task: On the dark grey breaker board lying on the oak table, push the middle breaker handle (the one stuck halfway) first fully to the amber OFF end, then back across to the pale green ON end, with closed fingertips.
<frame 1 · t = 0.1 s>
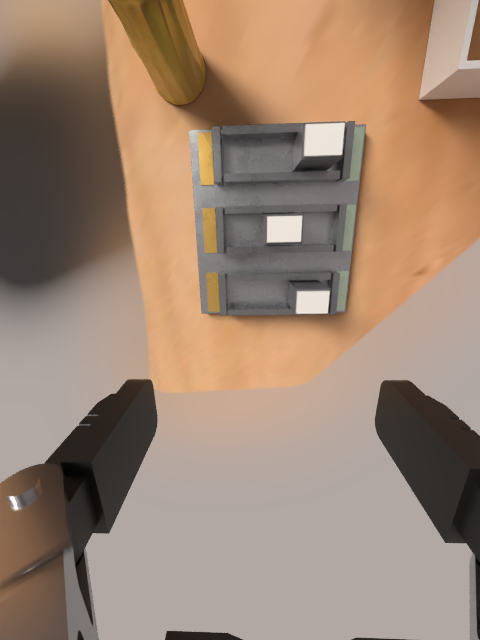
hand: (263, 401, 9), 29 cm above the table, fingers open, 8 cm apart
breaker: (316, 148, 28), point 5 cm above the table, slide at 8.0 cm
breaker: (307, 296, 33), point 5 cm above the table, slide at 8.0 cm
vase: (179, 74, 30), on the table
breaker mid: (281, 229, 31), point 5 cm above the table, slide at 4.5 cm
panel: (273, 229, 35), on the table
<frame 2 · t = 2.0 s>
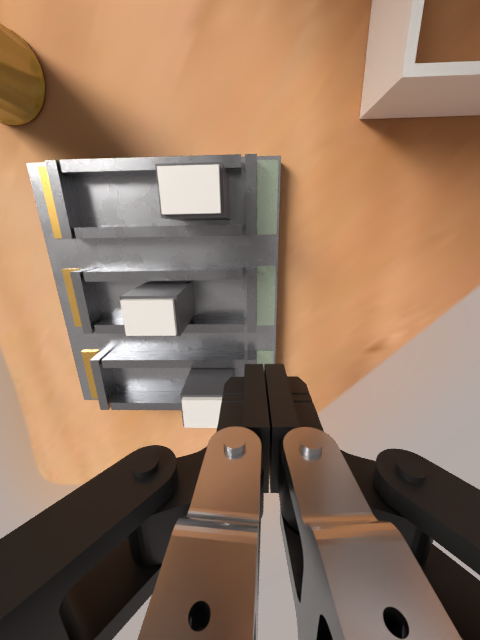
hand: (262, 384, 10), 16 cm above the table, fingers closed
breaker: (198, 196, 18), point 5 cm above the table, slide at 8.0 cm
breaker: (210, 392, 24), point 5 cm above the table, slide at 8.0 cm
vase: (9, 80, 21), on the table
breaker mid: (161, 306, 21), point 5 cm above the table, slide at 4.5 cm
panel: (171, 293, 26), on the table
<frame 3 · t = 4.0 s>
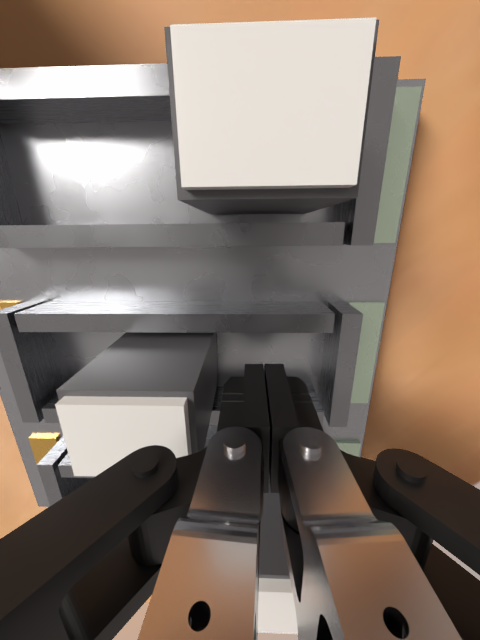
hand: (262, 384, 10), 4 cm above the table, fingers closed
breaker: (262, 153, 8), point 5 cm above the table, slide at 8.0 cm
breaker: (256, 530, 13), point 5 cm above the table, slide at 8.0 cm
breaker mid: (158, 386, 11), point 5 cm above the table, slide at 4.0 cm, touching gripper
panel: (184, 341, 15), on the table
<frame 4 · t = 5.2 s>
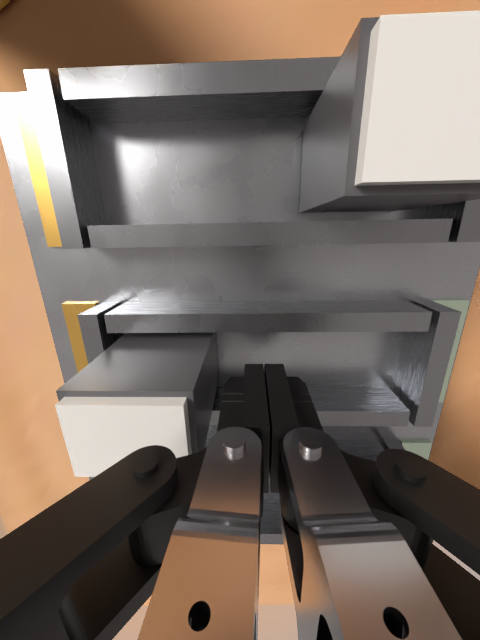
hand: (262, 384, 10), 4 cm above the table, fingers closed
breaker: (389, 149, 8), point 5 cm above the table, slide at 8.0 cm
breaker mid: (158, 387, 11), point 5 cm above the table, slide at 0.3 cm, touching gripper
panel: (251, 341, 15), on the table
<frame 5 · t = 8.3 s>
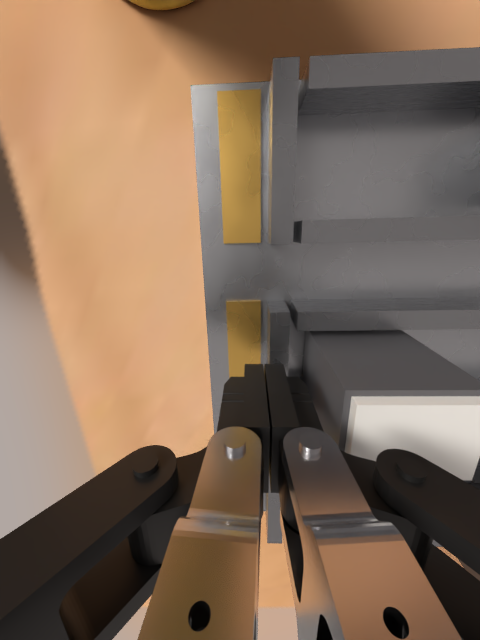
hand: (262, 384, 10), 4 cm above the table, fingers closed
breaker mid: (371, 386, 10), point 5 cm above the table, slide at 0.7 cm, touching gripper
panel: (395, 339, 14), on the table
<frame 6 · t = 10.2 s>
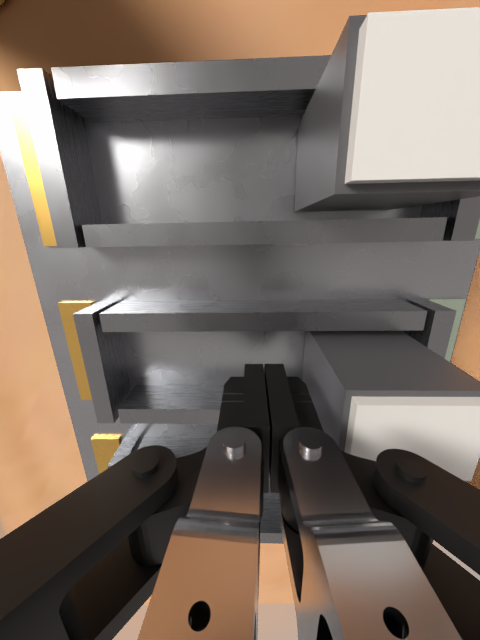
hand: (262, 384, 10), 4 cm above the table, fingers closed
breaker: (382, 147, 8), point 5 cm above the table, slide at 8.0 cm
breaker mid: (371, 386, 10), point 5 cm above the table, slide at 8.8 cm, touching gripper
panel: (247, 340, 15), on the table
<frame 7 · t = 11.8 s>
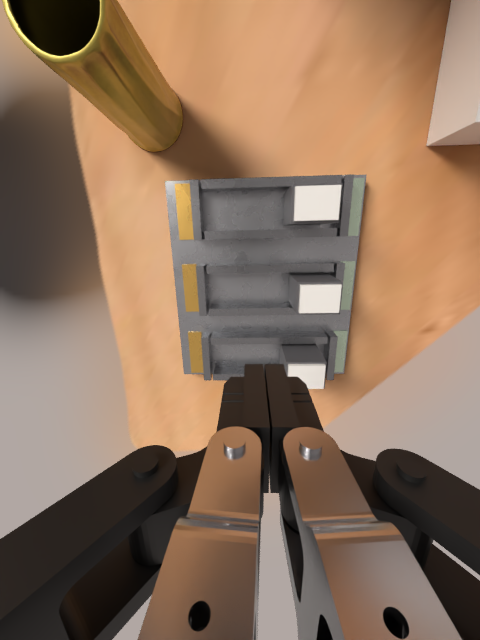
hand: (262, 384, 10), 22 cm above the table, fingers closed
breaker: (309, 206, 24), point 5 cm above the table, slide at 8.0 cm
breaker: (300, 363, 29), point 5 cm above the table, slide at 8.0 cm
vase: (153, 117, 27), on the table
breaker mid: (312, 292, 27), point 5 cm above the table, slide at 8.8 cm
panel: (262, 284, 31), on the table
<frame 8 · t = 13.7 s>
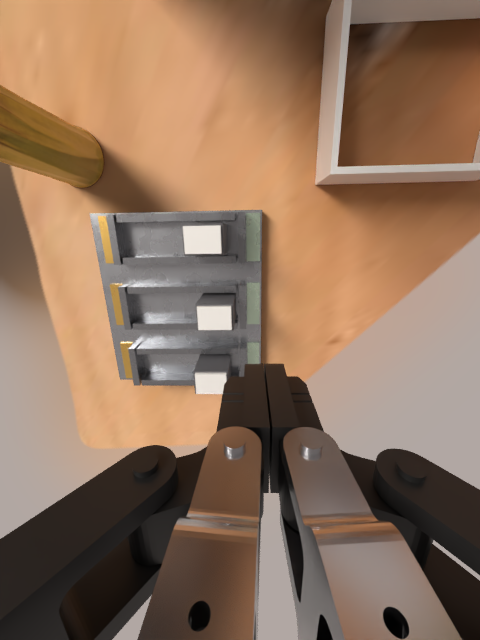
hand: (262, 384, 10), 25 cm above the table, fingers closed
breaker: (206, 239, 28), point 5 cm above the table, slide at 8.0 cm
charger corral: (405, 105, 28), on the table
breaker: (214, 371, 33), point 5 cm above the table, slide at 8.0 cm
vase: (79, 158, 31), on the table
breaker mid: (217, 310, 31), point 5 cm above the table, slide at 8.8 cm
panel: (185, 301, 35), on the table
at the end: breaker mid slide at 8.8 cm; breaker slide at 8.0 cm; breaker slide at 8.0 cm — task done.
